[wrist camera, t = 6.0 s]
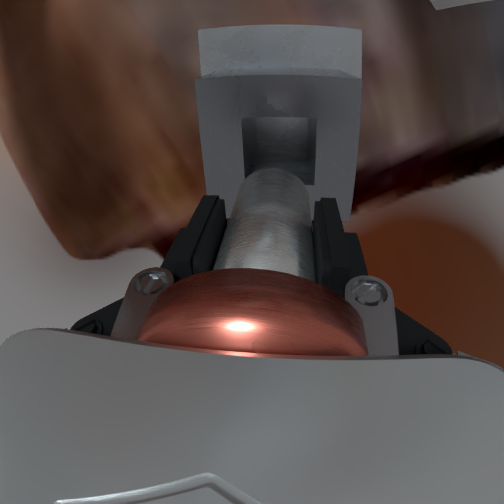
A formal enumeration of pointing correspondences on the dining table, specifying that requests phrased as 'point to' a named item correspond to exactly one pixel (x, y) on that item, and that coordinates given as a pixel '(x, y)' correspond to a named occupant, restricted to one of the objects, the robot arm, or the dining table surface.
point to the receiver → (280, 107)
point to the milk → (452, 3)
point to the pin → (260, 284)
